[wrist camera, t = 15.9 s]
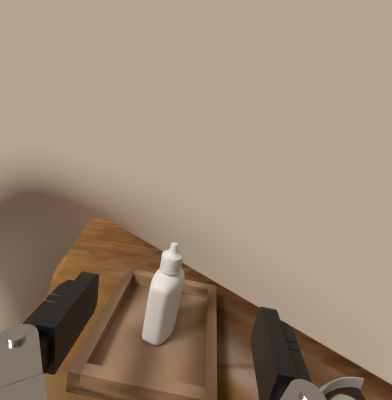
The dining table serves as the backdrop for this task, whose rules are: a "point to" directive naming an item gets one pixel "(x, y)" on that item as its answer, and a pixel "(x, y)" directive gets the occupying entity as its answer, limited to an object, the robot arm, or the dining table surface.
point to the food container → (343, 389)
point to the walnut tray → (149, 348)
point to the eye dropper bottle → (164, 297)
